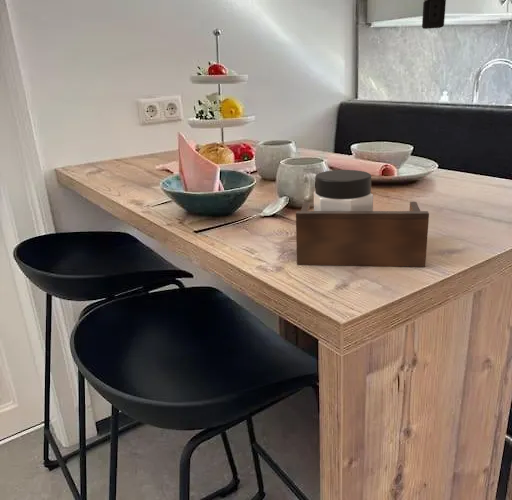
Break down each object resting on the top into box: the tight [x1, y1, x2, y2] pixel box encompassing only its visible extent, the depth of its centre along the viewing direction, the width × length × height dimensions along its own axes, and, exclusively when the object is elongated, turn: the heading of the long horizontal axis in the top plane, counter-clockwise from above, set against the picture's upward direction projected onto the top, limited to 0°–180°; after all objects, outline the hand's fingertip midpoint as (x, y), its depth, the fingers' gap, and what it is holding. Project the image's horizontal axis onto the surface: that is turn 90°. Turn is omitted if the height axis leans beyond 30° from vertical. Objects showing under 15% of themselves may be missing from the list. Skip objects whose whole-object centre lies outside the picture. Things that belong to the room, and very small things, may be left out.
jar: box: [313, 169, 374, 211], centre depth 75 cm, size 9×8×12 cm
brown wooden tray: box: [295, 201, 430, 268], centre depth 76 cm, size 18×13×8 cm
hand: (432, 27), depth 81 cm, fingers closed
